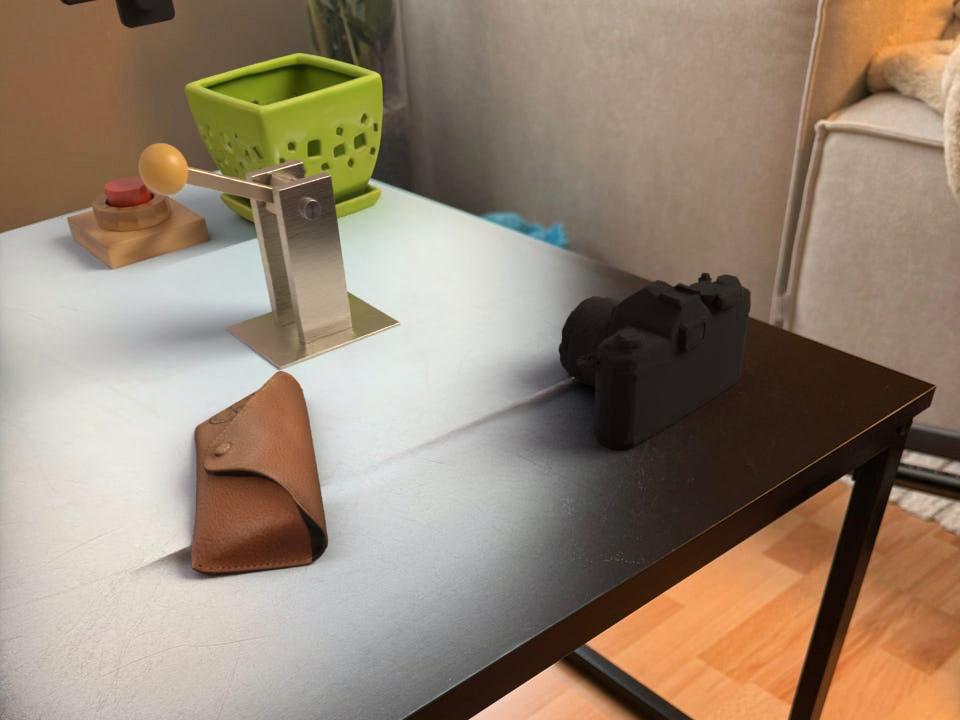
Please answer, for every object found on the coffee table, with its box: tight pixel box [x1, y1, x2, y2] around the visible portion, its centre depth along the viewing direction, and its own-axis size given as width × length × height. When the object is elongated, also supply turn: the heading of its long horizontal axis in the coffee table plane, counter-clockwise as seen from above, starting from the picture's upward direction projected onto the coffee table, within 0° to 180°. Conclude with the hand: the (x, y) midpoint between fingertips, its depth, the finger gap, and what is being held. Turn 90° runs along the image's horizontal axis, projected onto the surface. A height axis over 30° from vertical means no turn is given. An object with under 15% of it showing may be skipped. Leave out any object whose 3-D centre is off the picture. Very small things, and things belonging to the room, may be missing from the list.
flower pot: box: [184, 52, 384, 224], centre depth 97 cm, size 14×14×13 cm
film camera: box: [558, 272, 752, 450], centre depth 70 cm, size 15×10×9 cm, turn 133°
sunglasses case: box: [190, 370, 329, 575], centre depth 65 cm, size 18×7×7 cm
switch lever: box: [138, 142, 294, 214], centre depth 71 cm, size 13×3×3 cm, turn 128°
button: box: [103, 176, 152, 208], centre depth 96 cm, size 4×4×2 cm
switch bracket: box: [225, 159, 401, 371], centre depth 78 cm, size 11×9×13 cm
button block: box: [66, 189, 210, 270], centre depth 98 cm, size 10×10×4 cm
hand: (116, 11), depth 62 cm, fingers open, 9 cm apart
